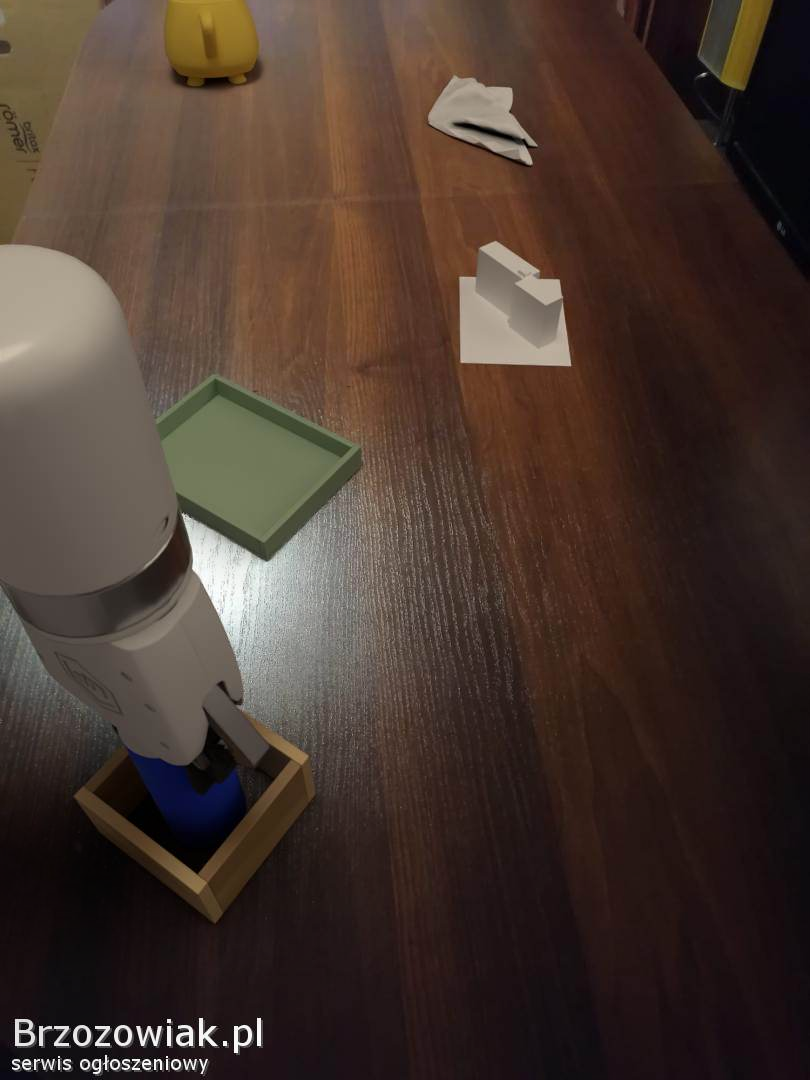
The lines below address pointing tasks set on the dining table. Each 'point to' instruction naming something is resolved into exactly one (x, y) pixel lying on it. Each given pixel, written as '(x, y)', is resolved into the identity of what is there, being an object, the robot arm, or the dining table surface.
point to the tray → (251, 464)
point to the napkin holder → (511, 313)
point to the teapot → (210, 39)
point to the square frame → (240, 853)
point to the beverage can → (189, 799)
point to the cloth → (481, 118)
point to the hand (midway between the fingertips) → (178, 743)
